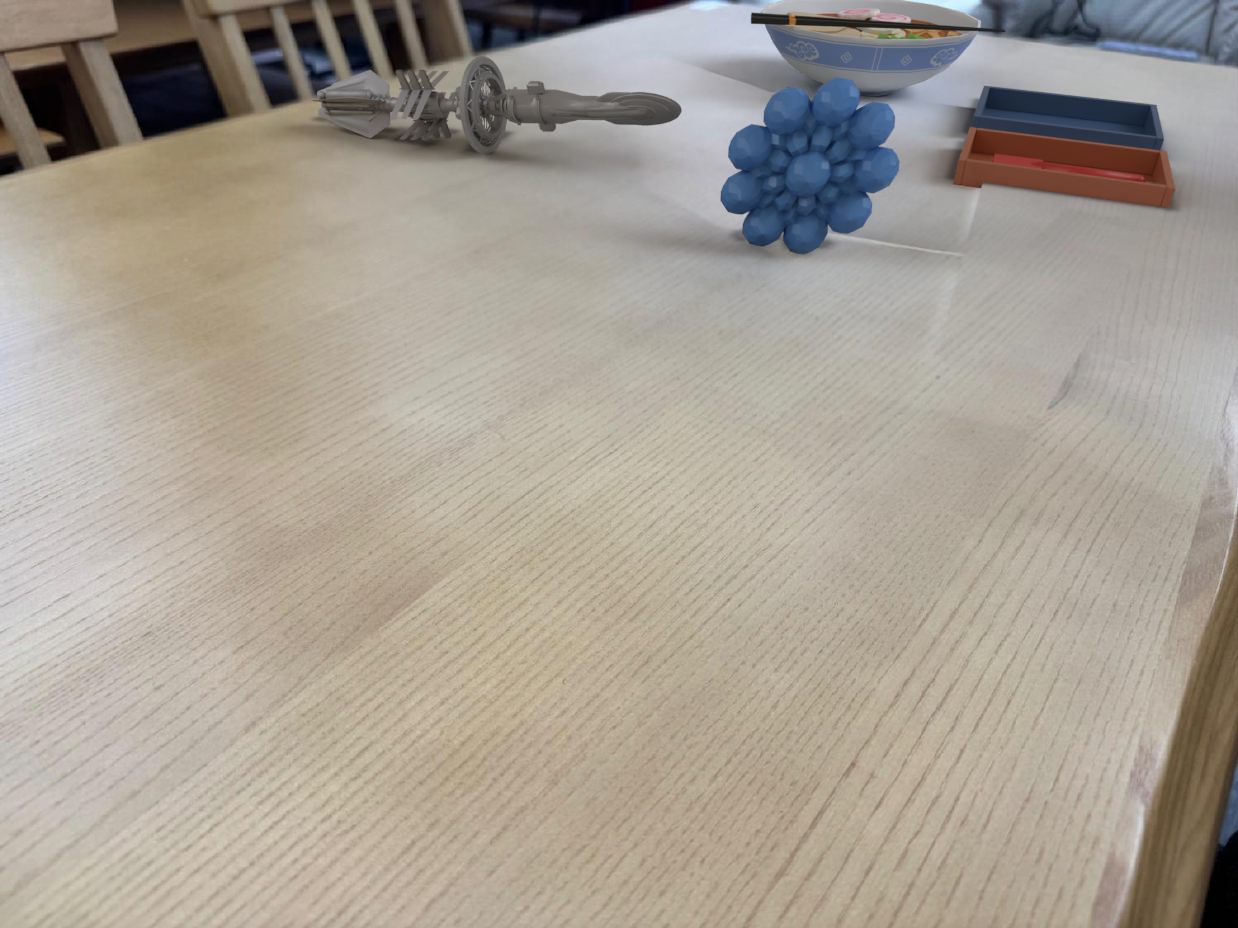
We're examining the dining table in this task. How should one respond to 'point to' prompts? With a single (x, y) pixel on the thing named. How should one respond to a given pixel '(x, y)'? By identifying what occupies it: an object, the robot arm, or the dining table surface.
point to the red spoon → (1064, 167)
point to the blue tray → (1069, 117)
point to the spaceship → (479, 105)
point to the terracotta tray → (1065, 152)
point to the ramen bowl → (868, 40)
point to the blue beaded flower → (810, 166)
